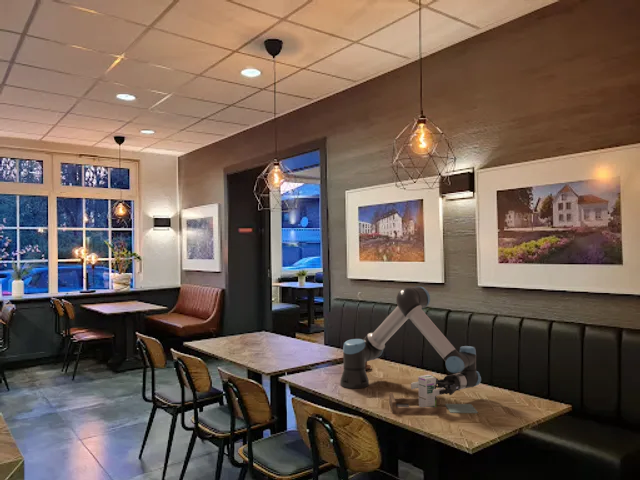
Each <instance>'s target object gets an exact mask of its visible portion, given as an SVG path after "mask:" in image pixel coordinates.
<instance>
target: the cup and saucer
mask: <svg viewBox="0 0 640 480" xmlns="http://www.w3.org/2000/svg"><path fill="white" fill-rule="evenodd" d="M371 367H372V365H369V364H368V361H367V362H365V371H368V370H370V369H371Z"/></svg>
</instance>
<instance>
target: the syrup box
mask: <svg viewBox="0 0 640 480" xmlns="http://www.w3.org/2000/svg"><path fill="white" fill-rule="evenodd" d="M417 378H418V379H417V382H418V388H417V389H418V398H419V404H418V407H438V406H437V405H438V404H436V398H437V396H433V390H434V389H437V388H436V378H437V377H436V376H433V375H431V374H426V375H425V374H424V375H420V376H419V375H418V376H417Z"/></svg>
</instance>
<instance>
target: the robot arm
mask: <svg viewBox="0 0 640 480" xmlns="http://www.w3.org/2000/svg"><path fill="white" fill-rule="evenodd" d="M430 302H431V295H430V293H429V291H428V290H427V289H426V288H425V287H423V286H418V285H416V286H411V287H404V288H401V290H399V291H398V292H397V294H396V305H397V306H396V307H395V308H394V309H393V310H392V311H391V313H389V314H388V315H387V316H386V317H385V319H384V320H383V321H382V323H381V324H380V325H378V327H377V328H376V329H375V330H374V331H373V332H368V333H367V335H366V336H365V337H364V338H363V339H362V338H351V339H348V340H346V341H345V342H343V347H342V353H343V356H342V357H343V358H342V361H343V363H342V364H343V371H342V373H341V377H340V380H339V381H340V382H339V383H340V386H341V387H343V388H346V389H347V388H348V389H362V388H363V389H364V388H367V387H369V384H370V383H369V377H368V374H367V372H366V371H367V370H365V362H367V363H368V362H369V361H373V360H376V359H379V358H380V357H381V355H382V354H383V352H384V349H385V348H386V345H385V344H386V343H387V342H388V341H389V340H390V338H392V337H393V335H395V333H396V332H397V331H398V330H399V329H400V328H401V327H402V326H403V325H404V323H406V321H408V320H410V321H411V322H412V324H413V325H414V326H415V327H416V328H417V329H418V331H419V332H420V333H421V334H422V335H423V336H424V338H425V339H426V340H427V341H428V342H429V344H430V346H432V347H433V349H434V350H435V352H437V353H438V355H439V356H440V357H441V358H442V359H443V361H444V362H445V368H446V370H447V371H448V372H450V373H451V374H447V375H445V376H444V377H443V379H442V378H441V379H439V378H437V377H436V389H434V390H433V396H436V397H437V396H438V397H439V396H442V395H448V394H449V396H451V395H452V396H453V394H454V393H455V392H457V391H458V392H459V391H461V390H464V389H469V388H474V387H476V386H478V385H480V384H481V382H482V377H481V374H480V372H479V371H477V351H476V347H475V346H470V345H469V346H468V345H464V346H463V345H462V346H460V347H459V351H458V350H457V349H456V348H455V346H454V345H453V344H452V343H451V341H450V340H449V339H448V338H447V337H446V336H445V335H444V333H443V332H442V331H441V330H440V328H438V327H437V325H435V323H434V322H433V321H432V320H431V318H430V317H429V316H428V315H427V314H426V312H425V311H424V310H423V309H426V308H427V307H428V306H429V305H430ZM410 389H411V390H416V389H418V381H414V382H411V383H410Z"/></svg>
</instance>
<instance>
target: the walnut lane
mask: <svg viewBox="0 0 640 480" xmlns="http://www.w3.org/2000/svg"><path fill="white" fill-rule="evenodd" d="M388 397H389V398H388V400H389V401H388V403H389V406H390V409H391V413H392V414H399V415H402V414H407V415H408V414H409V415H410V414H411V415H412V414H413V415H417V414H418V415H419V414H420V415H447V410H448V408H447V407H446V406H437V407H419V406H410V405H419V397H395V396H394V392H391V391H390V392H389V393H388ZM436 405H441V398H440V397H436Z"/></svg>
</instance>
